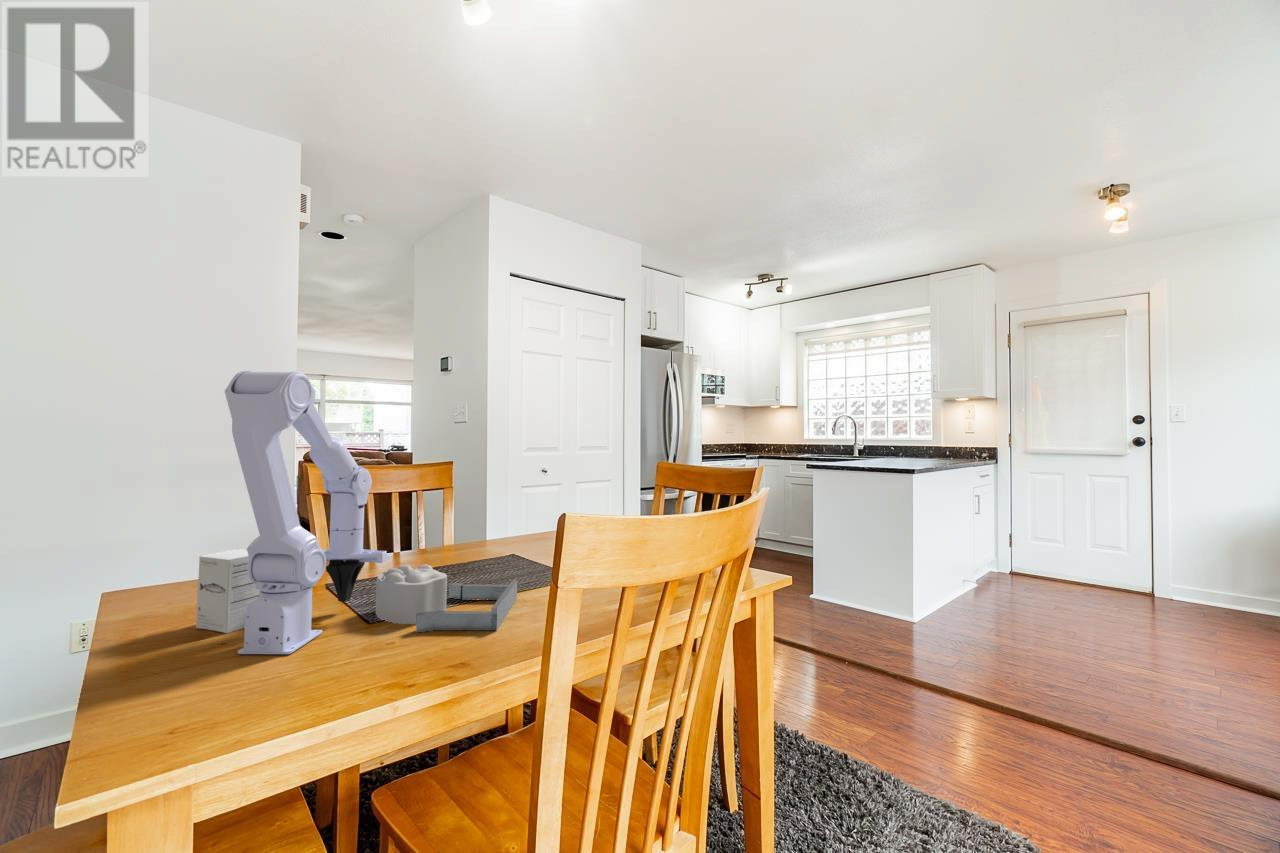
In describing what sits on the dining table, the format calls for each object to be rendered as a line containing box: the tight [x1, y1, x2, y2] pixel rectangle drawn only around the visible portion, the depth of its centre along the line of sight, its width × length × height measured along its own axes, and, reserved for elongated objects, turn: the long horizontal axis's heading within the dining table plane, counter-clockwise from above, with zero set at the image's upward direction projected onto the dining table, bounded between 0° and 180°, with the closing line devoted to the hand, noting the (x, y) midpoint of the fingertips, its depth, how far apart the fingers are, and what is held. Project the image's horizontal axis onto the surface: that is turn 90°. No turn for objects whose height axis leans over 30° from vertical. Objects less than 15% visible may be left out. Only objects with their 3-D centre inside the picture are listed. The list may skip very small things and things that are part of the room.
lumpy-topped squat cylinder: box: [375, 563, 448, 625], centre depth 103 cm, size 10×13×9 cm
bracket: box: [415, 579, 518, 634], centre depth 104 cm, size 21×14×4 cm, turn 2°
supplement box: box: [195, 548, 260, 634], centre depth 95 cm, size 7×7×13 cm
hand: (344, 599), depth 103 cm, fingers closed
